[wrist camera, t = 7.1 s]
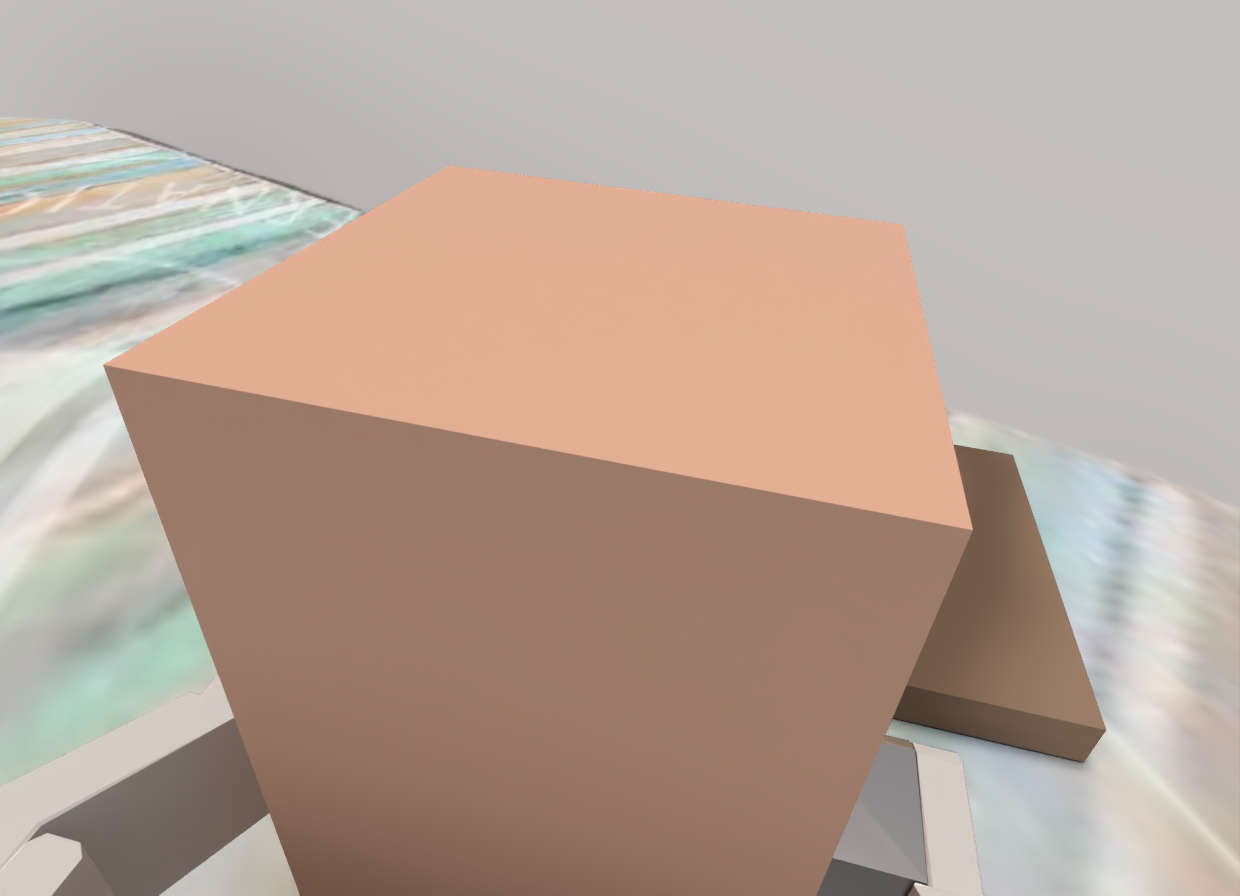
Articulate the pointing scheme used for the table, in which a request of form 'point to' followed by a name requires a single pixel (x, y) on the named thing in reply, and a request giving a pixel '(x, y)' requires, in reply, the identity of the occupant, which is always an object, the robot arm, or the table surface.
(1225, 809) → the table surface
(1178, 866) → the table surface
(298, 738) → the tall rectangular block
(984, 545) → the holder base
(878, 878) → the robot arm
